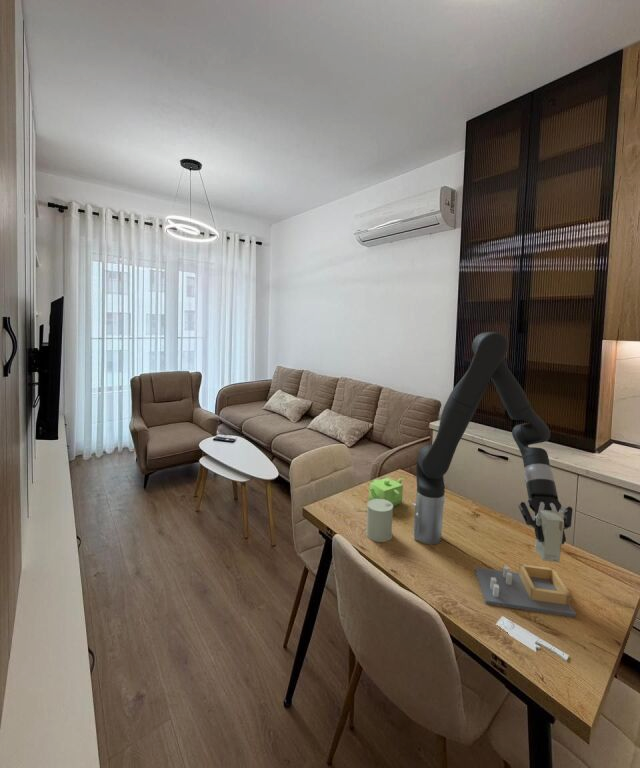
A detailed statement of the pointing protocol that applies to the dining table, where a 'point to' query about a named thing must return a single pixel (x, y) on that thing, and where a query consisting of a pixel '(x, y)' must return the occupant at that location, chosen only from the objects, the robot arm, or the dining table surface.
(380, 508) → the can
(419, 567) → the dining table surface
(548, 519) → the skincare box
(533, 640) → the white plastic strip tool
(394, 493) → the teapot
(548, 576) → the board
